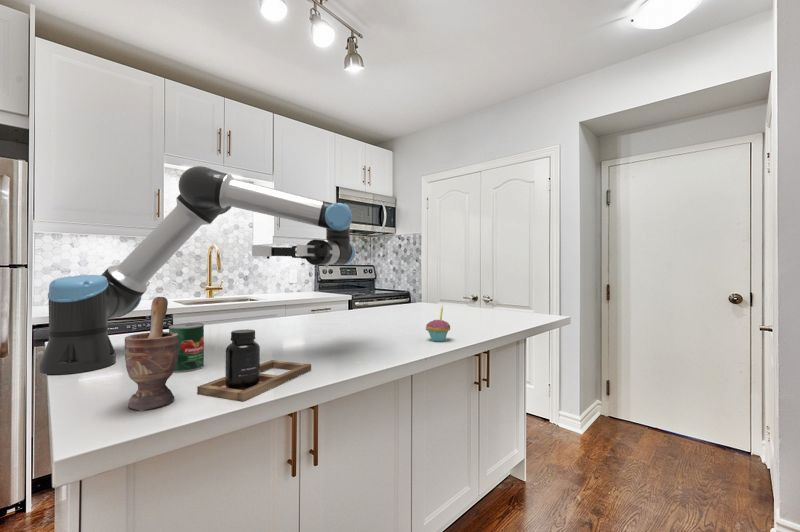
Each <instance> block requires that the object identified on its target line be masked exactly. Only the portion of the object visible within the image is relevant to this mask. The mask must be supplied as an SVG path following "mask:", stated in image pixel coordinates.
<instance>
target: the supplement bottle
mask: <svg viewBox="0 0 800 532" xmlns="http://www.w3.org/2000/svg"><path fill="white" fill-rule="evenodd" d="M230 332H231V333H230V341H231V343H230V344H228V345H227V346H226V348H225V371H224V372H225V376H224V377H225V386H226V388H231V389H237V390H245V389H247V388H250V387H252V386H255V385H257V384H259V380H260V364H261V350H260V349H261V346H260V345H259V344H258V342H256V341H255V340H256V330H255V329H248V328H247V329H236V330H233V331H232V330H231V331H230Z"/></svg>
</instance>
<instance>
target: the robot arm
mask: <svg viewBox="0 0 800 532" xmlns="http://www.w3.org/2000/svg"><path fill="white" fill-rule="evenodd" d="M178 190H179V193H180V194H179V195H178V196H176V206H175V207H174V208H173V209H172V210H171V211H170V212H169V213H168V214H167V215H166V216H165V217H164V218H163V220H162V221H160V223H158V224H157V226H156V227H155V228H153V230H152V231H150V233H149V234H148V235H147V236H146V237H145V238H144V239H143V240H142V241H141V242H140V243H139V244H138V245H137V246H136V247H135V248H134V249H133V250H132V251H131V252H130V253H129V254H128V255H127V257H125V259H123V261H121V263H119V265H110V266H108V267H107V268H106V269H105V270H104V272H102V274H100V275H99V274H84V275H83V274H81V275H74V276H73V275H72V276H71V275H70V276H63V277H59V278H55V279H53V280H52V281H50V283H49V286H48V293H47V299H48V342H47V344H46V347H45V348H44V349H45V350H44V351H43V354H42V356H41V359H40V360H39V361H40V362H39V373H41V374H44V375H67V374H68V375H69V374H76V373H77V374H78V373H83V372H84V373H85V372H91V371H94V370H99V369H103V368H106V367H109V366H112V365H114V364H116V362H117V354H116V350H115V348H114V346H113V344H112V342H111V339H110V337H109V334H108V332H109V331H108V324H109V323H108V322H109V321H108V320H112V319H115V318H116V319H117V318H121V317H123V316H126V315H127V314H130V313H132V312H133V311H134V310H135V309H136V308H137V307H138V306H139V305H140V303H141V300H142V296H143V295H144V294H145V293H146V291H147V290H148V287H147V286H148V285H147V283H148V282H149V281H150V280H151V279H152V278H153V277H154V276H155V274H156V273H158V272H159V271H160V269H161V268H162V267H163V266H164V265H165V264H166V263H167V262H168V261H169V260H170V259H171V258H172V257H173V256H174V255H175V254H176V252H177V251H179V250H180V248H181V247H183V245H184V244H185V243H187V241H188V240H189V239H190V238H191V237H192V236H193V235H194V234H195V233H196V232H197V231H198V229H200V227H202V226H204V225H210V224H212V223H213V221H215V219H216V218H218V216H220V215H224V214H226V213H227V212H228V211H230V210H231V209H232V208H237V209H240V210H244V211H245V210H246V211H250V212H254V213H259V214H263V215H266V216H272V217H274V218H275V217H276V218H281V219H285V220H289V221H293V222H299V223H302V224H308V225H311V226H315V227H319V228H323V229H325V230H326V231H325V232H326V233H325V234H326V235H325V237H326V238H325V239H312V240H310V241H308V242H307V243H306V244H296V245H292V246H291V247H281V246H280V247H279V246H277V247H276V246H272V245H269V246H268V245H251V256H252V257H265V258H266V259H267V260H269V259H271V258H270V257H291V258H293V259H302V260H306V261H307V263H308V264H310V265H312V266H325V268H328V267H329V266H343V265H348V264H350V263H352V262H353V261H354V259H355V256H356V251H355V247H354V246H353V245H352V244H351V242H350V241H351V240H350V239H351V238H350V237H351V236H350V228H351V227H350V226H351V224H352V222H353V214H352V211H351V209H350V206H349V205H347V204H346V203H341V202H329V201H325V200H322V199H321V200H320V199H317V198H313V197H310V196H304V195H301V194H296V193H294V192H293V193H292V192H288V191H284V190H282V189H281V190H280V189H277V188H273V187H272V188H271V187H268V186H264V185H259V184H257V183H256V184H255V183H252V182H248V181H244V180H240V179H235V178H234V177H233V175H232V174H231V173H230V174H229V173H227V172H223V171H220V170H215V169H213V168H210V167H207V166H201V165H199V166H198V165H197V166H192V167H189V168H187V169H185V171H183V172H182V174H181V175H180V177H179V180H178Z"/></svg>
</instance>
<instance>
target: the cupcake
mask: <svg viewBox="0 0 800 532" xmlns="http://www.w3.org/2000/svg"><path fill="white" fill-rule="evenodd" d="M443 307H444V306H443V305H441V308H440V313H439V314H440V315H439V319H434V320H431V321H429V322H428V323H427V324H426V325H425V331H427V332H428V334H429V337H430V340H431V341H432V342H438V341H439V342H445V341H446V338H447V335H448V332H449V331H451V324H449V322H447V321H445V320H443V309H444V308H443Z"/></svg>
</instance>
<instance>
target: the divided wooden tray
mask: <svg viewBox="0 0 800 532" xmlns="http://www.w3.org/2000/svg"><path fill="white" fill-rule="evenodd" d="M273 368H274V369H279V368H280V370H281V369H282V370H288V371H286V372H283V373H281V374H279V375H277V374H269V373H263V372H266V371H269V370H271V369H273ZM265 370H266V371H265ZM310 370H311V371H312V364H311V363H303V362H302V363H301V362H294V361H292V362H291V361H285V360H276V359H274V360H273V359H271V360H268V361H266V362H263V363H260V372H261V373H260V380H259V384H257V385H255V386H252V387H250V388H247V389H245V390H237V389H231V388H226V386H225V376H223V377H221V378H218V379H215V380H213V381H208V382H207V383H203V384H201V385H197V387H196V388H197V390H196V393H197V395H202V396H209V397H214V398H221V399H227V400H232V399H233V401H238V402H245V401H247V400H249V399H253V398H254V397H256V396H259V395H260V393H261V394H262V392H263V393H265V392H267V391H269V390H271V389H270V388H272V389H273V387H274V388H276V387H278V386H280V385H282V384H284V382H285V383H287V382H289V381H291V380H293V379H295V377H296V378H298V377H300V376H302V375H304V374H306V373H308V371H309V372H311V371H310ZM301 374H302V375H301ZM299 375H300V376H299ZM297 376H298V377H297ZM288 380H289V381H288ZM286 381H287V382H286ZM277 385H278V386H277ZM275 386H276V387H275ZM268 389H269V390H268ZM266 390H267V391H266ZM264 391H265V392H264Z"/></svg>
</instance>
